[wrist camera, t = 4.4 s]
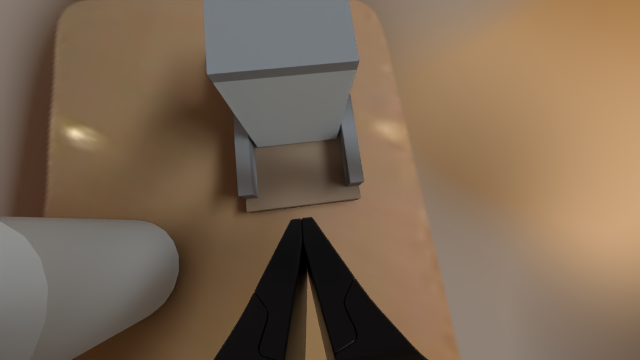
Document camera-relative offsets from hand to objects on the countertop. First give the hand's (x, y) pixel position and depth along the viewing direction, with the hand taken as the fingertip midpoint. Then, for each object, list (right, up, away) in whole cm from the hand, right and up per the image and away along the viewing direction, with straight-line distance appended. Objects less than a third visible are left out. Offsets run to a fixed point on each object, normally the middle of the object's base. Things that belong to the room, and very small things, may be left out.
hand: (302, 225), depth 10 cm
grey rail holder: (-2, +7, +12) cm, 14 cm away
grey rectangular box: (-2, +8, +10) cm, 13 cm away
